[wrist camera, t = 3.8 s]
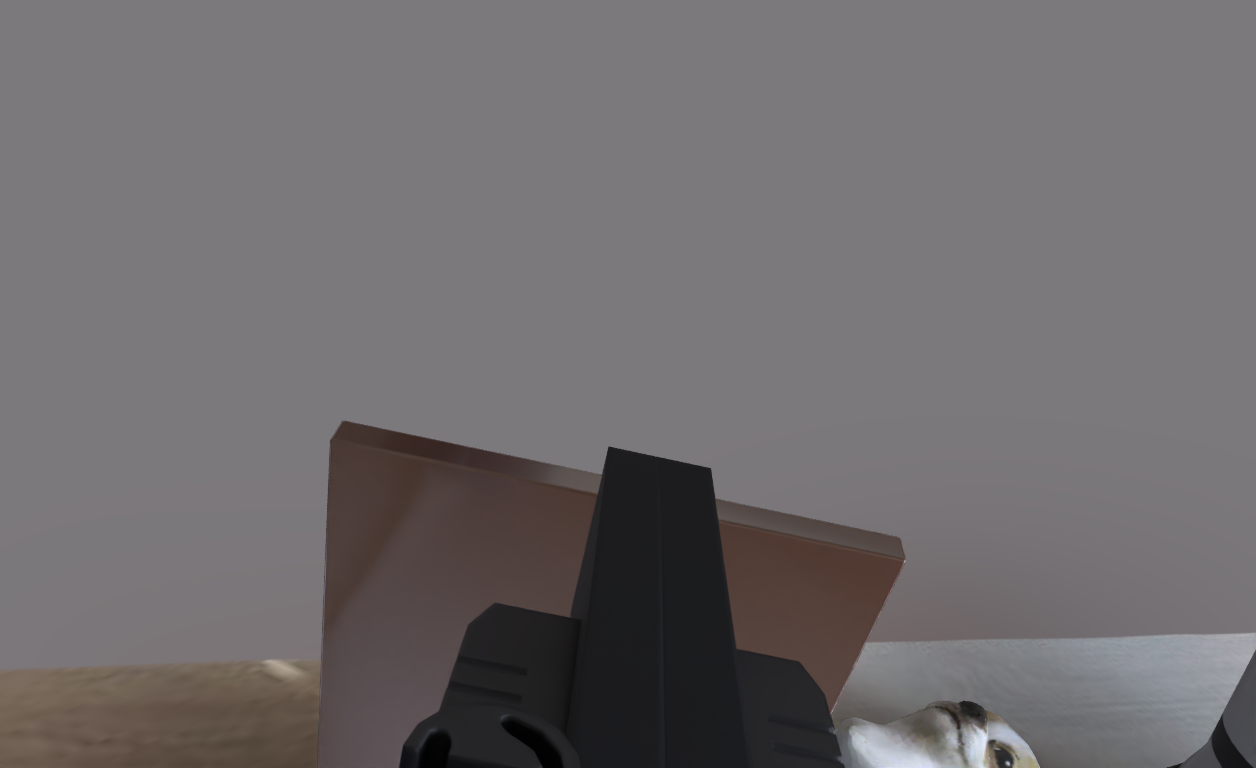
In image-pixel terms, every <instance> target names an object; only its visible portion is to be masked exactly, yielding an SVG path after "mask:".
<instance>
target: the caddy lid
mask: <svg viewBox="0 0 1256 768" xmlns="http://www.w3.org/2000/svg"><path fill="white" fill-rule="evenodd" d="M601 477H602V474H597V473H592V472H587V471H582V470H578V469H573V468H568V467H564V466H558V465H554V464H549V463H545V462H540V461H535V460H530V459H526V458H521V457H516V456H511V455H506V454H502V453H497V452H492V451H487V450H483V449H478V448H473V447H468V446H464V445H459V444H454V443H449V442H445V441H440V440H435V439H430V438H425V437H420V436H416V435H411V434H406V433H402V432H397V431H392V430H387V429H383V428H378V427H373V426H368V425H364V424H359V423H354V422H350V421H342V422H341V423H340V425H339V426H338V428H337V430H336V431H335V433H334V435H333V436H332V438H331V440H330V455H329V479H328V503H327V504H328V505H327V506H328V507H327V528H326V553H325V576H324V600H323V626H322V649H321V651H322V652H321V673H320V697H319V721H318V746H317V768H399V765H400V759H401V753H402V748H403V744H404V743H405V742H406V740H407V739H408V737H409V736H410V734H411V733H412V731H413V730H414V729H415V727H416V726H417V724H418V723H420V722H421V721H423V720H425V719H426V718H428V717H430V716H431V715H433V714H435V713H436V712H438V711H439V709H440V706H441V703H442V700H443V697H444V694H445V691H446V688H447V687H448V683H449V679H450V676H451V673H452V670H453V668H454V665H455V662H456V660H457V656H458V653H459V650H460V647H461V644H462V641H463V638H464V635H465V632H466V629H467V626H468V624H469V623H471V622H472V621H473V620H474V619H475V618H477V617H478V616H479V615H480V614H481V613H483V612H484V611H485V610H486V609H488V608H489V607H490V606H491V605H492V604H494V603H495V602H496V603H501V604H505V605H510V606H515V607H520V608H525V609H530V610H535V611H540V612H544V613H549V614H554V615H559V616H564V617H569V618H570V614H571V608H572V604H573V600H574V595H575V591H576V586H577V582H578V578H579V573H580V569H581V565H582V560H583V556H584V552H585V547H586V543H587V539H588V534H589V530H590V525H591V521H592V517H593V512H594V508H595V504H596V499H597V495H598V491H599V486H600V482H601ZM715 500H716V508H717V515H718V522H719V529H720V536H721V543H722V550H723V557H724V564H725V571H726V578H727V585H728V592H729V599H730V606H731V613H732V620H733V627H734V634H735V641H736V648H737V649H741V650H746V651H751V652H755V653H760V654H765V655H770V656H775V657H780V658H785V659H790V660H795V661H799V662H800V663H801V664H802V665H803V667H804V668H805V669H806V671H807V672H808V673H809V674H810V676H811V677H812V678H813V679H814V681H815V682H816V683H817V685H818V686H819V687H820V688H821V690H822V691H823V692H824V693H825V696H826V700H827V703H828V707H829V711H830V714H832V712H833V710H834V708H835V706H836V704H837V702H838V700H839V698H840V695H841V693H842V691H843V689H844V687H845V685H846V683H847V681H848V679H849V677H850V675H851V673H852V671H853V669H854V667H855V665H856V663H857V661H858V659H859V657H860V654H861V652H862V650H863V648H864V646H865V644H866V642H867V640H868V638H869V636H870V634H871V632H872V630H873V628H874V626H875V624H876V622H877V619H878V618H879V615H880V613H881V611H882V609H883V607H884V605H885V603H886V601H887V599H888V597H889V595H890V593H891V591H892V589H893V587H894V585H895V583H896V580H897V579H898V577H899V574H900V572H901V570H902V568H903V566H904V564H905V562H906V557H905V553H904V549H903V546H902V542H901V539H900V538H899V537H897V536H892V535H887V534H882V533H877V532H873V531H868V530H863V529H859V528H853V527H849V526H844V525H839V524H834V523H830V522H825V521H820V520H816V519H810V518H806V517H801V516H797V515H792V514H787V513H782V512H778V511H773V510H768V509H763V508H759V507H754V506H749V505H744V504H740V503H734V502H730V501H725V500H720V499H716V498H715Z"/></svg>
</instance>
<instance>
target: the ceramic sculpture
mask: <svg viewBox="0 0 1256 768" xmlns="http://www.w3.org/2000/svg"><path fill="white" fill-rule="evenodd" d="M834 734H836V736H837V740H838V744H839V747H840V751H841V755H842V758H841V763H844V765H845V768H1040V766H1039V764H1038V762H1037V759H1036V757H1035V755H1034V754H1033V752H1032V751H1031V749H1030V748H1029V746H1028V745H1027V743H1026V742H1025V741H1024V740H1023V739H1022V738H1021V737H1020V736H1019V735H1018V734H1017V733H1016V732H1015V730H1014V729H1013V728H1012V727H1011V726H1009V725H1008V724H1007V723H1006V722H1005V721H1004V720H1002V719H1001V718H1000V717H999V716H997V715H995V714H993V713H992V712H989V711H987V710H984V708H983V707H982V706H980V705H978V704H976V703H973V702H970V701H962V702H959V703H956V702H951V701H937V702H934V703H931V704H929V705H928V706H927V707H926V708H925V709H921V710H918V711H916V712H914V713H912V714H910V715H908V716H906V717H904V718H901V719H899V720H896V721H894V722H891V723H889V724H887V725H881V724H876V723H872V722H869V721H866V720H863V719H860V718H857V717H851V718H848V719H846V720H844V721H843V722H841V724H840V725H839V727H838V728H836V729H835V731H834Z"/></svg>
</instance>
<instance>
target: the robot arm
mask: <svg viewBox="0 0 1256 768" xmlns="http://www.w3.org/2000/svg"><path fill="white" fill-rule="evenodd" d="M833 731H834V725H833V722H832V718H831V714H830V711H829V707H828V703H827V700H826V696H825V693H824V692H823V691H822V690H821V688H820V687H819V686H818V685H817V683H816V682H815V681H814V679H813V678H812V677H811V676H810V674H809V673H808V672H807V671H806V669H805V668H804V667H803V665H802V664H801V663H800V662H799V661H795V660H790V659H785V658H780V657H775V656H770V655H765V654H760V653H755V652H751V651H746V650H741V649H737V648H736V641H735V634H734V627H733V620H732V613H731V606H730V599H729V592H728V585H727V578H726V571H725V564H724V557H723V550H722V543H721V536H720V529H719V522H718V515H717V508H716V500H715V494H714V487H713V479H712V472H711V468H707V467H702V466H698V465H693V464H688V463H683V462H679V461H674V460H669V459H665V458H660V457H655V456H650V455H646V454H641V453H637V452H632V451H627V450H622V449H617V448H613V447H608V451H607V456H606V460H605V464H604V469H603V474H602V477H601V482H600V486H599V491H598V495H597V499H596V504H595V508H594V512H593V517H592V521H591V525H590V530H589V534H588V539H587V543H586V547H585V552H584V556H583V560H582V565H581V569H580V573H579V578H578V582H577V586H576V591H575V595H574V600H573V604H572V608H571V614H570V618H569V617H564V616H559V615H554V614H549V613H544V612H540V611H535V610H530V609H525V608H520V607H515V606H510V605H505V604H501V603H496V602H495V603H494V604H492V605H491V606H490V607H489V608H488V609H486V610H485V611H484V612H483V613H481V614H480V615H479V616H478V617H477V618H475V619H474V620H473V621H472V622H471V623H469V624H468V626H467V629H466V632H465V635H464V638H463V641H462V644H461V647H460V650H459V653H458V656H457V660H456V662H455V665H454V668H453V670H452V673H451V676H450V679H449V683H448V687H447V688H446V691H445V694H444V697H443V700H442V703H441V706H440V709H439V711H438V712H436V713H435V714H433V715H431V716H430V717H428V718H426V719H425V720H423V721H421V722H420V723H418V724H417V726H416V727H415V729H414V730H413V731H412V733H411V734H410V736H409V737H408V739H407V740H406V742H405V743H404V744H403V748H402V753H401V759H400V765H399V768H845V765H844V763H841V758H842V755H841V751H840V747H839V744H838V740H837V736H836V734H833ZM1167 768H1256V651H1255V653H1254V654H1253V656H1252V658H1251V660H1250V662H1249V664H1248V666H1247V668H1246V670H1245V672H1244V673H1243V675H1242V677H1241V679H1240V681H1239V683H1238V685H1237V687H1236V689H1235V691H1234V692H1233V694H1232V696H1231V698H1230V700H1229V702H1228V704H1227V706H1226V708H1225V710H1224V712H1223V714H1222V716H1221V718H1220V720H1219V722H1218V724H1217V726H1216V727H1215V729H1214V731H1213V733H1212V735H1211V737H1210V738H1209V740H1208V742H1207V743H1206V744H1205V745H1204V746H1203V747H1202V748H1201V749H1199V750H1198V751H1197V752H1196V753H1194V754H1193V755H1192V756H1191V757H1190V758H1188V759H1187V760H1186V761H1185V762H1184V763H1181V764H1177V765H1174V766H1170V767H1167Z"/></svg>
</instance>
